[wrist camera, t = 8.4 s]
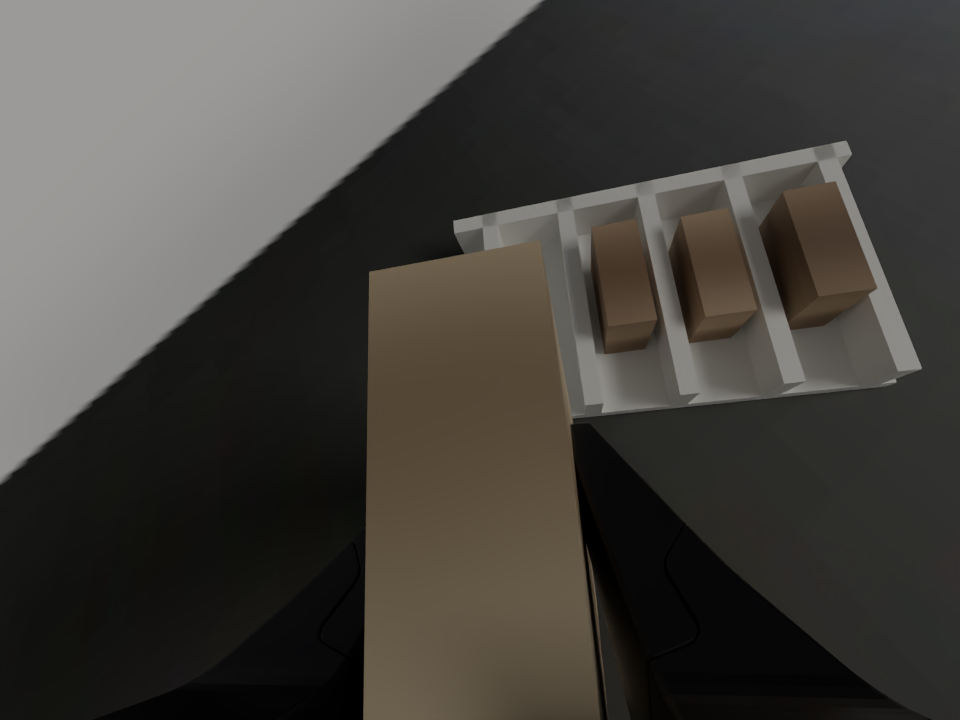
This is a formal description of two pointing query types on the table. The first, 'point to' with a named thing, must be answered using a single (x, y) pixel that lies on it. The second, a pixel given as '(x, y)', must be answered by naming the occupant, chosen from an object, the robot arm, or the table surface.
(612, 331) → the walnut offcut
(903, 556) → the table surface
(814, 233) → the walnut offcut
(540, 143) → the table surface
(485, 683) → the oak board
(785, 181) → the offcut rack
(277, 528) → the table surface
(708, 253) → the walnut offcut
